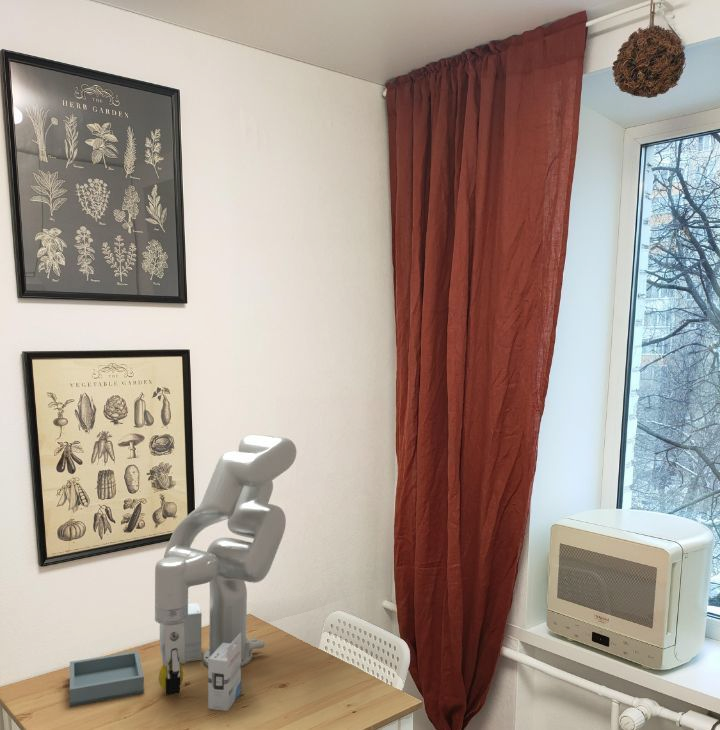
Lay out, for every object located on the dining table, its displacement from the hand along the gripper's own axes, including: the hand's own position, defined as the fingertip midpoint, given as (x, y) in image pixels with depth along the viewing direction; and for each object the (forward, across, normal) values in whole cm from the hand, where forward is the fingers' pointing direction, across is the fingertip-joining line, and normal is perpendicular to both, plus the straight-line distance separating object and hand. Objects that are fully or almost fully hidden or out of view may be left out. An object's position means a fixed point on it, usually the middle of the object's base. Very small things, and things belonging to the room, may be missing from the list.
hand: (171, 686), depth 160 cm
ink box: (+2, -8, -11) cm, 14 cm away
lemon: (+2, 0, 0) cm, 2 cm away
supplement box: (+2, +18, -6) cm, 19 cm away
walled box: (+1, +9, +14) cm, 17 cm away
